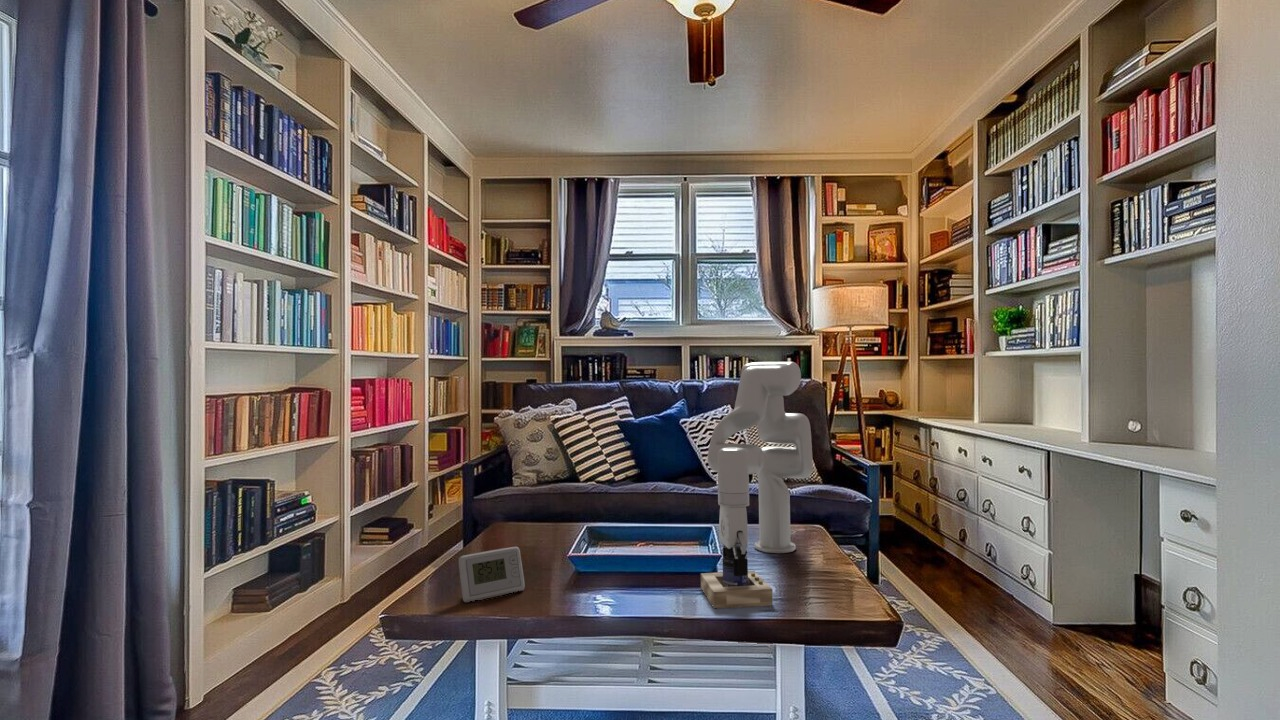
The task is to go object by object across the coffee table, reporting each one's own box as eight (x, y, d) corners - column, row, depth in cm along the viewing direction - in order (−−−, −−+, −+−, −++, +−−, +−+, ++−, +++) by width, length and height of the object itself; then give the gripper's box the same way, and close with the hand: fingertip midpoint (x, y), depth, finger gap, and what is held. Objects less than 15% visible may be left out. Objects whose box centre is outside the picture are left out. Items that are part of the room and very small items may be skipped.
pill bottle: (747, 598, 148) (747, 551, 148) (722, 596, 149) (721, 550, 149) (748, 589, 154) (747, 544, 154) (723, 588, 155) (723, 543, 155)
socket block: (700, 588, 157) (700, 571, 158) (754, 585, 159) (754, 568, 159) (714, 608, 143) (713, 589, 144) (772, 605, 145) (772, 586, 145)
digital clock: (460, 605, 148) (460, 560, 148) (456, 593, 156) (456, 551, 156) (528, 595, 154) (528, 552, 154) (520, 584, 162) (520, 543, 163)
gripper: (710, 492, 160) (711, 559, 160) (727, 506, 143) (729, 581, 142) (738, 491, 161) (739, 558, 161) (759, 505, 144) (760, 579, 143)
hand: (734, 569), depth 151 cm, fingers open, 9 cm apart
